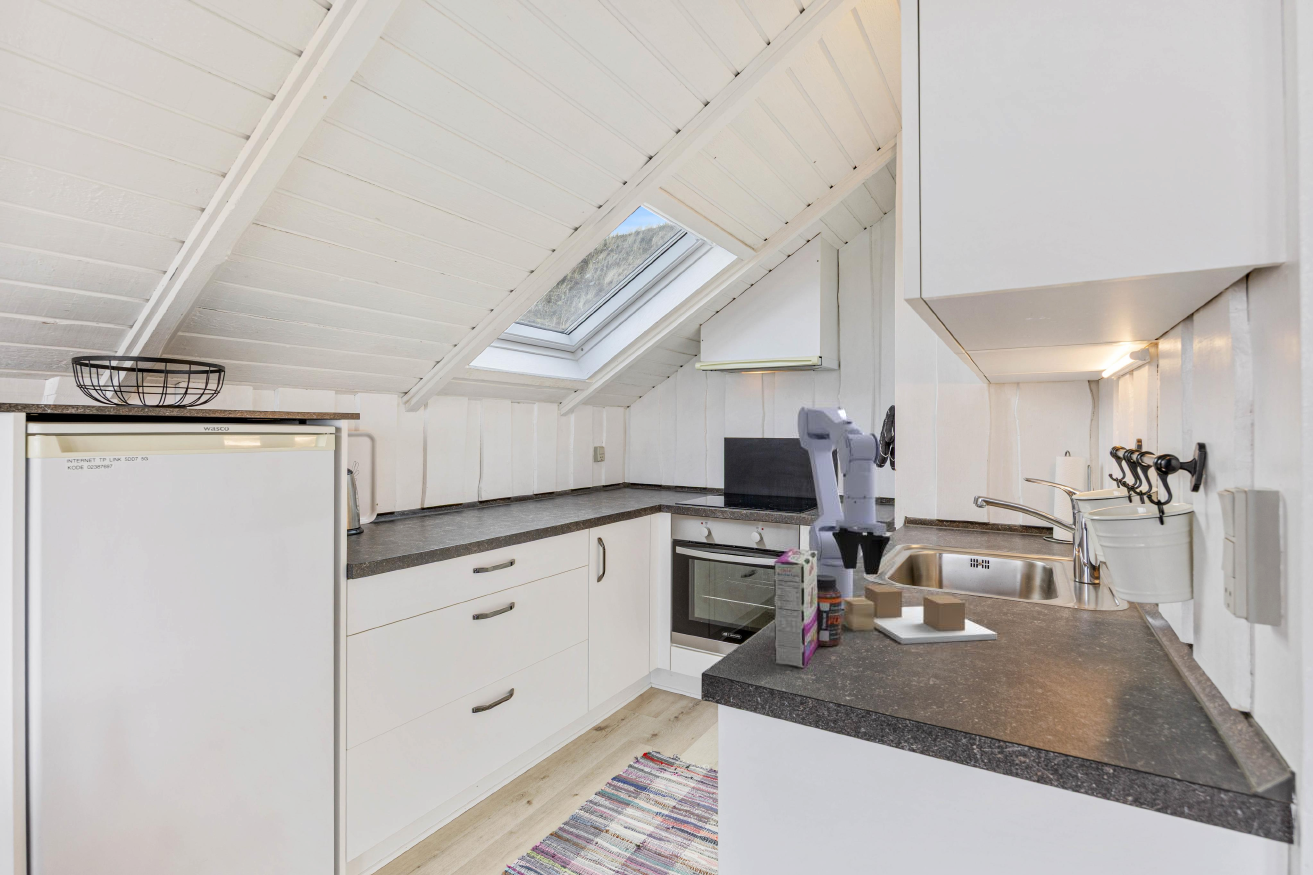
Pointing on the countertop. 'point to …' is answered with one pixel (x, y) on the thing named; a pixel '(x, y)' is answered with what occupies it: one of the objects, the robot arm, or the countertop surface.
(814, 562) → the candy bar box
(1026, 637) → the countertop surface
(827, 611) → the supplement bottle
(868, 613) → the block
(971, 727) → the countertop surface
